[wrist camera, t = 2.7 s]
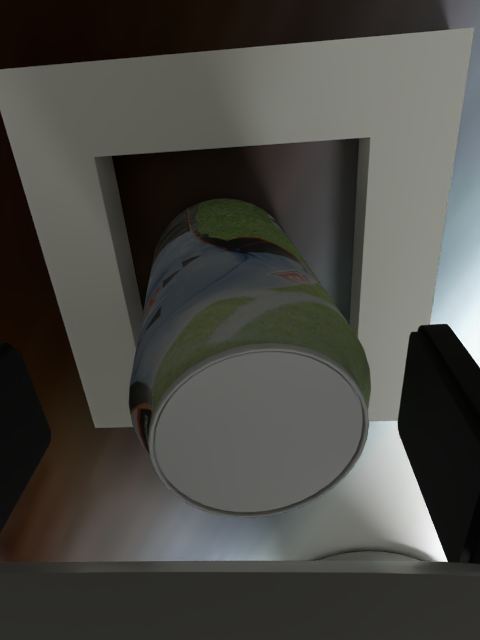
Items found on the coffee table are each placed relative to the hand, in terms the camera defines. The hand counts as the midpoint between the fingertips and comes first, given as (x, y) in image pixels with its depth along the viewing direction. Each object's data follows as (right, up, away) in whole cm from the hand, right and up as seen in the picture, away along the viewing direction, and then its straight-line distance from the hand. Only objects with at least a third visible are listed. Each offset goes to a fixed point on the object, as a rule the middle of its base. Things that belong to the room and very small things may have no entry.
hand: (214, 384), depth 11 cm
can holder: (+1, +4, +9) cm, 10 cm away
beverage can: (+1, +4, +9) cm, 10 cm away
